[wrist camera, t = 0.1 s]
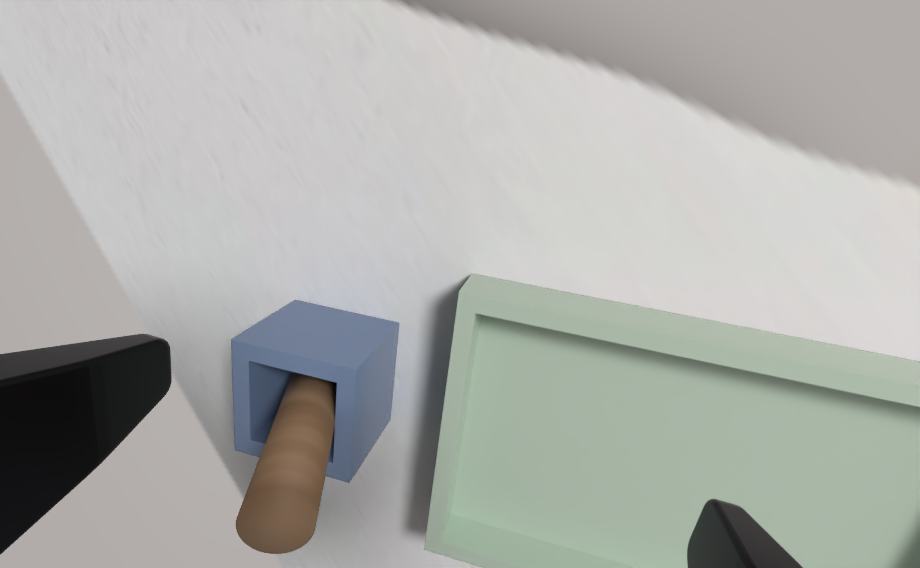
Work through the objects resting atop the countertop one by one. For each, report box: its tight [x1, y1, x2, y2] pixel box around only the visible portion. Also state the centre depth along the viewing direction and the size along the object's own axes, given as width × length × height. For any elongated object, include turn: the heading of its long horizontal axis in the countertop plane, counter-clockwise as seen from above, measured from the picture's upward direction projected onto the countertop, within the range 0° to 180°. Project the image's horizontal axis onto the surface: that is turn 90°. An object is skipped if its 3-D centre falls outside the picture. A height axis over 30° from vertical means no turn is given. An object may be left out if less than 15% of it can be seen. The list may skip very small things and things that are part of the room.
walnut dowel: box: [236, 372, 337, 554], centre depth 20 cm, size 2×6×10 cm, turn 83°
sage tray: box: [424, 274, 920, 568], centre depth 22 cm, size 14×22×2 cm, turn 83°
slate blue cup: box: [231, 300, 399, 483], centre depth 23 cm, size 6×6×5 cm
